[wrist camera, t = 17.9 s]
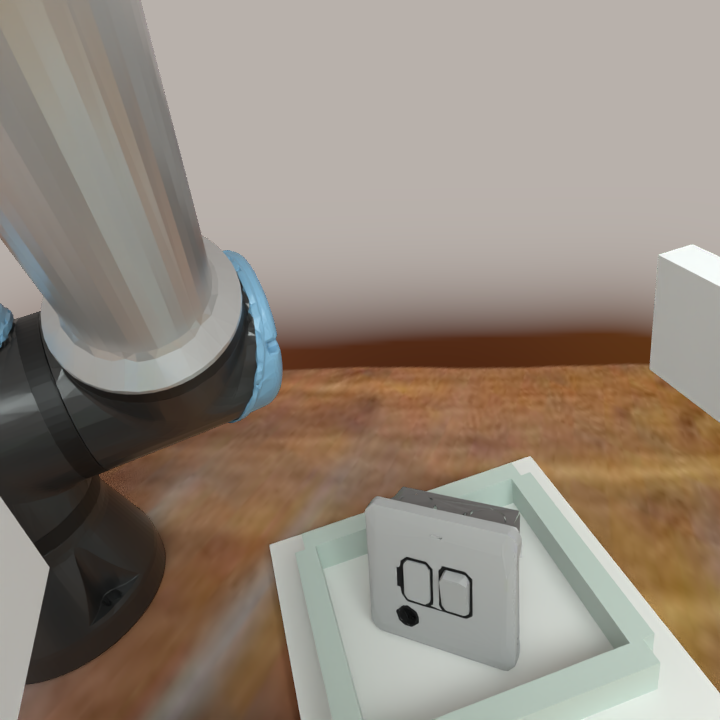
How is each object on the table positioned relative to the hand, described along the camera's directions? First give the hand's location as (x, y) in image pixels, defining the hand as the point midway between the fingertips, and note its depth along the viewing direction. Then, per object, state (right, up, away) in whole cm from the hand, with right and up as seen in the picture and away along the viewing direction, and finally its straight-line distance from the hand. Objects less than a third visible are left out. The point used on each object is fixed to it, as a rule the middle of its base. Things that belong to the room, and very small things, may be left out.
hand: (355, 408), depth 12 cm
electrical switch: (+6, -16, +28) cm, 33 cm away
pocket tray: (+7, -16, +29) cm, 34 cm away
